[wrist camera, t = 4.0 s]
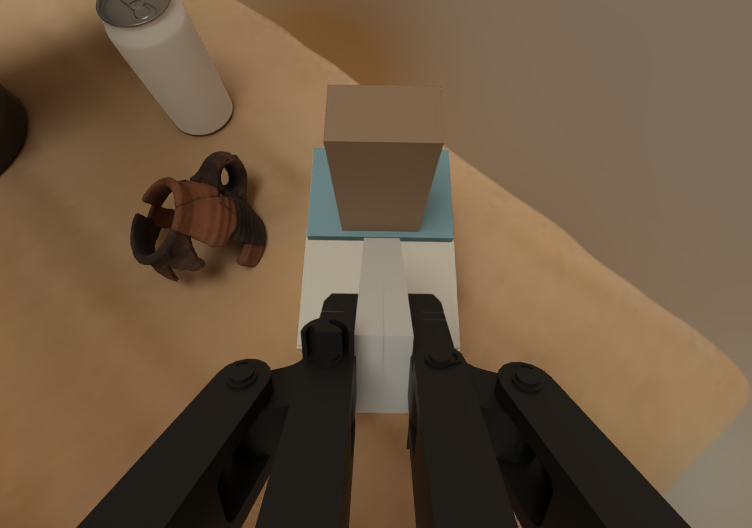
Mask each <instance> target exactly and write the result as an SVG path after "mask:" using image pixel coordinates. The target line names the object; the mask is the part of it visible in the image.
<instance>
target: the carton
mask: <svg viewBox="0 0 752 528" xmlns="http://www.w3.org/2000/svg"><path fill="white" fill-rule="evenodd" d="M312 166H313V165H312ZM311 178H312V176H311ZM310 190H311V188H310ZM309 201H310V200H309ZM308 213H309V211H308ZM307 224H308V223H307ZM363 243H364V241H341V240H308V238H307V234H306V246H305V258H304V269H303V281H302V292H301V304H300V316H299V327H298V339H297V349H299V350H301V351H302V343H301V333H300V331H301V330H302V328H303V327H304V325H306V324H307V323H309V322H310V321H312V320H315V319H318V318H319V317H320V314H321V310H322V306H323V302H324V300H325V299H326V298H327V297H329V296H330V295H331V294H332V293H346V294H358V292H359V282H360V273H361V263H362V253H363ZM400 243H401V250H402V257H403V264H404V271H405V278H406V286H407V293H408V294H433V295H434V296H435V297H436V298H437V299H439V300H440V301H441V303H442V307H443V310H444V314H445V317H446V321H447V324H448V327H449V331H450V334H451V338H452V341H453V344H454V348H455V349H456V350H457V351H460V334H459V318H458V301H457V285H456V268H455V252H454V239H453V240H452V242H403V241H400Z"/></svg>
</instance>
